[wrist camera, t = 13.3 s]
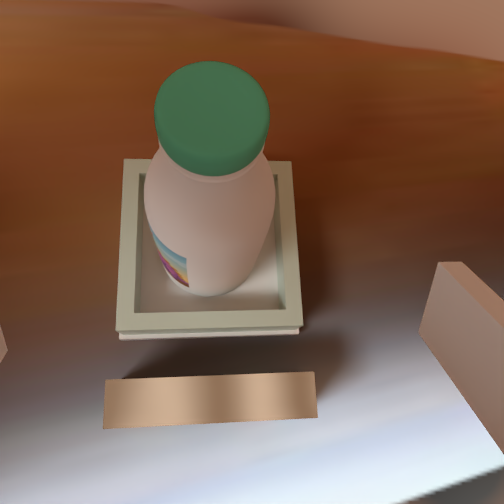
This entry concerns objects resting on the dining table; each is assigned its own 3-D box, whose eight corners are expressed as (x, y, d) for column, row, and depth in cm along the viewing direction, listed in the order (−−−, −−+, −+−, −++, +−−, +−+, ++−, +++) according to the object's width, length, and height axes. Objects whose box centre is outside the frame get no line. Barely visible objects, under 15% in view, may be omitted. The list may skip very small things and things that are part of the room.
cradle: (121, 340, 34) (111, 335, 30) (128, 178, 38) (120, 155, 34) (296, 334, 36) (307, 329, 32) (286, 179, 40) (294, 157, 36)
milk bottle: (257, 213, 37) (312, 36, 18) (253, 301, 35) (309, 206, 16) (166, 205, 37) (124, 13, 18) (156, 295, 34) (94, 187, 15)
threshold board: (117, 421, 32) (102, 429, 28) (119, 380, 33) (105, 379, 28) (301, 412, 34) (317, 417, 29) (299, 372, 35) (314, 371, 30)
